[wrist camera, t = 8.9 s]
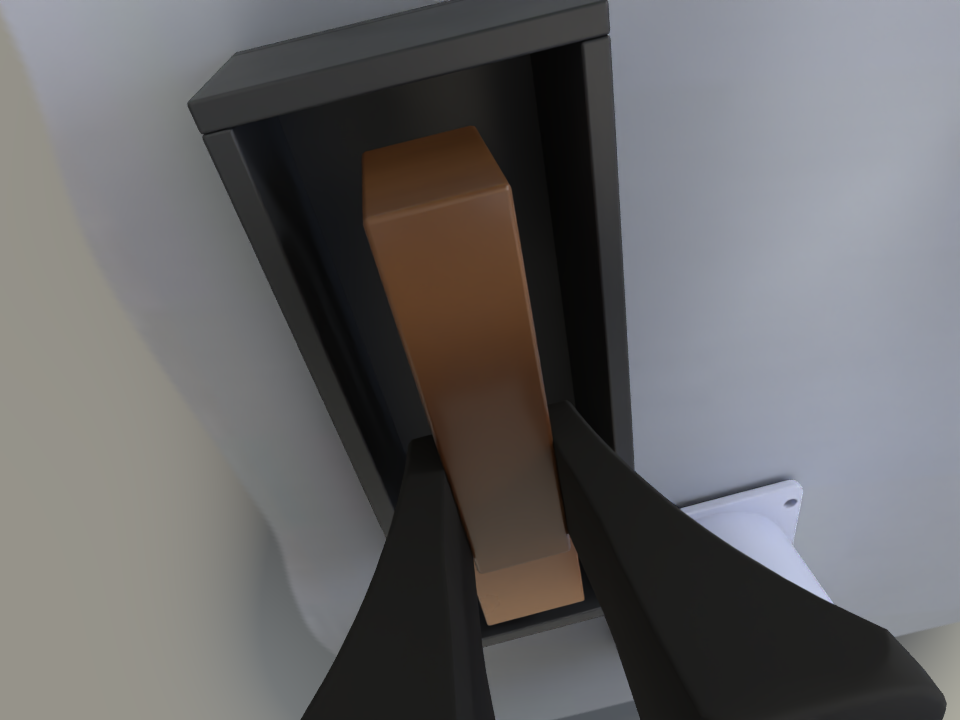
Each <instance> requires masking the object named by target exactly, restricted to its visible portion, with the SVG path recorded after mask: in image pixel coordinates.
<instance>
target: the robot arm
mask: <svg viewBox="0 0 960 720" xmlns="http://www.w3.org/2000/svg"><path fill="white" fill-rule="evenodd" d="M547 406H548V412H549V418H550V424H551V430H552V436H553V444H554V450H555V456H556V462H557V468H558V474H559V480H560V486H561V492H562V498H563V504H564V510H565V516H566V522H567V528H568V533H569V535H570V538H571V540H572V542H573V545H574V547H575V549H576V551H577V554H578V556H579V558H580V561H581V563H582V565H583V567H584V570H585V572H586V574H587V577H588V579H589V581H590V583H591V586H592V588H593V590H594V592H595V595H596V597H597V599H598V602H599V604H600V606H601V608H602V611H603V613H604V615H605V618H606V620H607V623H608V625H609V628H610V631H611V633H612V636H613V638H614V641H615V644H616V648H617V651H618V653H619V656H620V659H621V662H622V665H623V668H624V671H625V674H626V677H627V680H628V683H629V686H630V689H631V692H632V695H633V698H634V701H635V704H636V708H637V711H638V713H639V716H640V720H942V719H943V717H944V714H945V710H946V700H945V698H944V695H943V693H942V692H941V691H940V690H939V688H938V687H937V686H936V685H935V683H934V682H933V680H932V679H931V678H930V676H929V675H928V674H927V673H926V671H925V670H924V669H923V668H922V667H921V665H920V664H919V663H918V662H917V661H916V660H915V659H914V658H913V657H912V656H911V655H910V653H909V652H908V651H907V650H906V649H905V648H904V647H903V646H902V645H901V644H900V643H899V642H898V641H897V640H896V639H895V637H894V636H893V635H892V634H891V633H890V632H889V631H888V630H887V629H884V628H882V627H880V626H878V625H876V624H874V623H872V622H869V621H867V620H865V619H863V618H861V617H859V616H857V615H855V614H853V613H850V612H848V611H846V610H844V609H842V608H840V607H838V606H836V605H834V603H833V602H832V601H831V599H830V598H829V596H828V595H827V594H826V592H825V591H824V589H823V588H822V586H821V585H820V584H819V582H818V581H817V579H816V578H815V576H814V575H813V574H812V572H811V571H810V569H809V568H808V567H807V565H806V564H805V562H804V561H803V559H802V558H801V557H800V555H799V554H798V552H797V551H796V549H795V548H794V547H793V541H794V536H795V531H796V526H797V521H798V516H799V510H800V505H801V500H802V495H803V488H802V486H801V485H800V484H799V483H798V482H797V481H796V480H786V481H782V482H778V483H775V484H771V485H767V486H763V487H759V488H756V489H752V490H748V491H744V492H740V493H736V494H733V495H729V496H725V497H721V498H717V499H714V500H710V501H706V502H702V503H698V504H695V505H691V506H687V507H683V508H678V507H677V506H675V505H674V504H673V503H672V502H670V501H669V500H668V499H667V498H665V497H664V496H663V495H662V494H661V493H659V492H658V491H657V490H656V489H655V488H653V487H652V486H651V485H650V484H649V483H648V482H646V481H645V480H644V479H643V478H642V477H641V476H640V475H639V474H637V473H636V472H635V471H634V470H633V469H632V468H631V467H630V466H629V465H628V464H627V463H626V462H625V461H624V460H623V459H622V458H621V457H619V456H618V455H617V454H616V453H615V452H614V451H613V450H612V449H611V448H610V447H609V446H608V445H607V444H606V443H605V442H604V441H603V439H602V438H601V437H600V436H599V435H598V434H597V433H596V432H595V431H594V430H593V429H592V428H591V426H590V425H589V424H588V423H587V422H586V421H585V420H584V418H583V417H582V416H581V415H580V414H579V412H578V411H577V410H576V409H575V407H574V406H573V405H572V403H571V402H569V401H567V400H563V401H559V402H555V403H551V404H548V405H547ZM301 720H495V716H494V710H493V705H492V700H491V695H490V690H489V685H488V679H487V674H486V668H485V661H484V654H483V647H482V637H481V628H480V618H479V608H478V598H477V588H476V579H475V569H474V559H473V555H472V552H471V549H470V546H469V543H468V540H467V537H466V534H465V531H464V528H463V525H462V522H461V519H460V516H459V513H458V510H457V507H456V504H455V501H454V498H453V495H452V492H451V489H450V486H449V483H448V480H447V477H446V474H445V471H444V468H443V466H442V463H441V460H440V457H439V454H438V451H437V448H436V445H435V442H434V438H433V435H432V434H431V435H428V436H424V437H420V438H416V439H412V440H411V442H410V443H409V444H408V451H407V458H406V465H405V470H404V475H403V480H402V484H401V489H400V493H399V497H398V501H397V504H396V508H395V511H394V515H393V519H392V522H391V526H390V529H389V532H388V536H387V538H386V541H385V544H384V547H383V550H382V553H381V556H380V559H379V562H378V564H377V567H376V570H375V573H374V575H373V578H372V580H371V583H370V585H369V588H368V590H367V593H366V595H365V598H364V600H363V602H362V604H361V607H360V609H359V611H358V614H357V616H356V618H355V620H354V622H353V624H352V626H351V628H350V630H349V633H348V635H347V637H346V639H345V641H344V643H343V645H342V647H341V649H340V651H339V653H338V655H337V657H336V659H335V661H334V662H333V665H332V666H331V668H330V670H329V672H328V674H327V675H326V678H325V679H324V681H323V683H322V684H321V686H320V687H319V689H318V691H317V693H316V694H315V696H314V698H313V700H312V701H311V703H310V705H309V706H308V708H307V710H306V711H305V713H304V715H303V717H302V718H301Z"/></svg>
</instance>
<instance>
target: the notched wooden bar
mask: <svg viewBox="0 0 960 720" xmlns="http://www.w3.org/2000/svg"><path fill="white" fill-rule="evenodd" d="M361 166H362V213H363V227H364V230H365V233H366V236H367V239H368V242H369V245H370V248H371V251H372V254H373V257H374V260H375V263H376V266H377V269H378V272H379V275H380V279H381V282H382V285H383V288H384V291H385V294H386V297H387V300H388V303H389V306H390V309H391V312H392V315H393V318H394V321H395V324H396V327H397V330H398V333H399V336H400V339H401V342H402V345H403V348H404V351H405V354H406V357H407V360H408V363H409V366H410V369H411V372H412V375H413V378H414V381H415V384H416V387H417V390H418V393H419V396H420V399H421V402H422V405H423V408H424V411H425V414H426V417H427V420H428V423H429V426H430V429H431V432H432V435H433V438H434V442H435V445H436V448H437V451H438V454H439V457H440V460H441V463H442V466H443V468H444V471H445V474H446V477H447V480H448V483H449V486H450V489H451V492H452V495H453V498H454V501H455V504H456V507H457V510H458V513H459V516H460V519H461V522H462V525H463V528H464V531H465V534H466V537H467V540H468V543H469V546H470V549H471V552H472V555H473V559H474V569H475V579H476V588H477V597H478V599H479V602H480V605H481V608H482V611H483V614H484V617H485V620H486V623H487V624H488V625H494V624H498V623H501V622H505V621H509V620H513V619H516V618H520V617H524V616H528V615H532V614H535V613H539V612H543V611H547V610H550V609H554V608H558V607H562V606H565V605H569V604H573V603H577V602H581V601H583V600H584V598H585V597H584V591H583V584H582V578H581V572H580V565H579V559H578V554H577V551H576V549H575V547H574V545H573V542H572V540H571V538H570V535H569V533H568V528H567V522H566V516H565V510H564V504H563V498H562V492H561V486H560V480H559V474H558V468H557V462H556V456H555V450H554V444H553V436H552V430H551V424H550V418H549V412H548V406H547V400H546V394H545V388H544V382H543V376H542V369H541V363H540V357H539V351H538V345H537V339H536V333H535V327H534V321H533V315H532V309H531V303H530V297H529V291H528V285H527V279H526V273H525V267H524V261H523V255H522V249H521V243H520V237H519V231H518V225H517V219H516V213H515V207H514V201H513V195H512V189H511V186H510V185H509V183H508V181H507V180H506V178H505V176H504V174H503V173H502V171H501V169H500V168H499V166H498V164H497V163H496V161H495V159H494V158H493V156H492V154H491V152H490V151H489V149H488V147H487V146H486V144H485V142H484V141H483V139H482V137H481V136H480V134H479V132H478V130H477V129H476V127H475V126H467V127H463V128H458V129H454V130H450V131H446V132H442V133H438V134H434V135H430V136H426V137H422V138H418V139H414V140H410V141H406V142H402V143H398V144H394V145H390V146H386V147H382V148H378V149H374V150H370V151H366V152H364V153H363V154H362V157H361Z"/></svg>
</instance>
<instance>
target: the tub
mask: <svg viewBox="0 0 960 720" xmlns="http://www.w3.org/2000/svg"><path fill="white" fill-rule="evenodd" d="M609 32H610V22H609V4H608V1H607V0H450V1H446V2H441V3H437V4H433V5H429V6H425V7H421V8H417V9H413V10H409V11H404V12H400V13H396V14H392V15H388V16H384V17H380V18H376V19H372V20H368V21H363V22H359V23H355V24H351V25H347V26H343V27H339V28H335V29H331V30H327V31H322V32H318V33H314V34H310V35H306V36H302V37H298V38H294V39H290V40H286V41H281V42H277V43H273V44H269V45H265V46H261V47H257V48H253V49H249V50H245V51H240V52H236V53H235V54H234V55H233V56H232V57H231V58H230V59H229V60H228V61H227V62H226V63H225V64H224V65H223V66H222V67H221V68H220V69H219V71H218V72H217V73H216V74H215V75H214V76H213V77H212V78H211V79H210V80H209V81H208V82H207V83H206V84H205V85H204V86H203V87H202V88H201V89H200V90H199V91H198V92H197V93H196V94H195V95H194V96H193V97H192V98H191V100H190V101H189V102H188V103H187V104H188V108H189V110H190V112H191V114H192V117H193V119H194V121H195V123H196V125H197V128H198V130H199V131H200V133H201V134H204V135H203V141H204V143H205V145H206V147H207V149H208V152H209V154H210V156H211V158H212V160H213V162H214V165H215V167H216V169H217V171H218V173H219V176H220V178H221V180H222V182H223V184H224V186H225V189H226V191H227V193H228V195H229V197H230V199H231V202H232V204H233V206H234V208H235V210H236V213H237V215H238V217H239V219H240V221H241V223H242V226H243V228H244V230H245V232H246V234H247V236H248V239H249V241H250V243H251V245H252V247H253V250H254V252H255V254H256V256H257V258H258V260H259V263H260V265H261V267H262V269H263V271H264V273H265V276H266V278H267V280H268V282H269V284H270V287H271V289H272V291H273V293H274V295H275V297H276V300H277V302H278V304H279V306H280V308H281V310H282V313H283V315H284V317H285V319H286V321H287V324H288V326H289V328H290V330H291V332H292V334H293V337H294V339H295V341H296V343H297V345H298V347H299V350H300V352H301V354H302V356H303V358H304V361H305V363H306V365H307V367H308V369H309V371H310V374H311V376H312V378H313V380H314V382H315V384H316V387H317V389H318V391H319V393H320V395H321V398H322V400H323V402H324V404H325V406H326V408H327V411H328V413H329V415H330V417H331V419H332V421H333V424H334V426H335V428H336V430H337V432H338V435H339V437H340V439H341V441H342V443H343V445H344V448H345V450H346V452H347V454H348V456H349V458H350V461H351V463H352V465H353V467H354V469H355V472H356V474H357V476H358V478H359V480H360V482H361V485H362V487H363V489H364V491H365V493H366V495H367V498H368V500H369V502H370V504H371V506H372V509H373V511H374V513H375V515H376V517H377V519H378V522H379V524H380V526H381V528H382V530H383V532H384V535H385V537H386V538H387V536H388V532H389V529H390V526H391V522H392V519H393V515H394V511H395V508H396V504H397V501H398V497H399V493H400V489H401V484H402V480H403V475H404V470H405V465H406V458H407V451H408V444H409V443H410V442H411V440H412V439H416V438H420V437H424V436H428V435H431V434H432V432H431V429H430V426H429V423H428V420H427V417H426V414H425V411H424V408H423V405H422V402H421V399H420V396H419V393H418V390H417V387H416V384H415V381H414V378H413V375H412V372H411V369H410V366H409V363H408V360H407V357H406V354H405V351H404V348H403V345H402V342H401V339H400V336H399V333H398V330H397V327H396V324H395V321H394V318H393V315H392V312H391V309H390V306H389V303H388V300H387V297H386V294H385V291H384V288H383V285H382V282H381V279H380V275H379V272H378V269H377V266H376V263H375V260H374V257H373V254H372V251H371V248H370V245H369V242H368V239H367V236H366V233H365V230H364V227H363V213H362V166H361V157H362V154H363V153H364V152H366V151H370V150H374V149H378V148H382V147H386V146H390V145H394V144H398V143H402V142H406V141H410V140H414V139H418V138H422V137H426V136H430V135H434V134H438V133H442V132H446V131H450V130H454V129H458V128H463V127H467V126H475V127H476V129H477V130H478V132H479V134H480V136H481V137H482V139H483V141H484V142H485V144H486V146H487V147H488V149H489V151H490V152H491V154H492V156H493V158H494V159H495V161H496V163H497V164H498V166H499V168H500V169H501V171H502V173H503V174H504V176H505V178H506V180H507V181H508V183H509V185H510V186H511V189H512V195H513V201H514V207H515V213H516V219H517V225H518V231H519V237H520V243H521V249H522V255H523V261H524V267H525V273H526V279H527V285H528V291H529V297H530V303H531V309H532V315H533V321H534V327H535V333H536V339H537V345H538V351H539V357H540V363H541V369H542V376H543V382H544V388H545V394H546V400H547V405H548V404H551V403H555V402H559V401H563V400H567V401H569V402H571V403H572V405H573V406H574V407H575V409H576V410H577V411H578V412H579V414H580V415H581V416H582V417H583V418H584V420H585V421H586V422H587V423H588V424H589V425H590V426H591V428H592V429H593V430H594V431H595V432H596V433H597V434H598V435H599V436H600V437H601V438H602V439H603V441H604V442H605V443H606V444H607V445H608V446H609V447H610V448H611V449H612V450H613V451H614V452H615V453H616V454H617V455H618V456H619V457H621V458H622V459H623V460H624V461H625V462H626V463H627V464H628V465H629V466H630V467H631V468H632V469H633V470H634V471H635V469H634V451H633V433H632V415H631V397H630V379H629V361H628V343H627V326H626V308H625V290H624V272H623V254H622V236H621V218H620V200H619V183H618V165H617V147H616V129H615V111H614V93H613V75H612V58H611V40H610V37H609V36H608V35H607V34H609ZM578 559H579V565H580V572H581V578H582V584H583V591H584V597H585V598H584V600H583V601H581V602H577V603H573V604H569V605H565V606H562V607H558V608H554V609H550V610H547V611H543V612H539V613H535V614H532V615H528V616H524V617H520V618H516V619H513V620H509V621H505V622H501V623H498V624H494V625H488V624H487V623H486V620H485V617H484V614H483V611H482V608H481V605H480V602H479V599H478V608H479V618H480V628H481V637H482V647H487V646H490V645H494V644H498V643H502V642H506V641H509V640H513V639H517V638H521V637H524V636H528V635H532V634H536V633H540V632H543V631H547V630H551V629H555V628H558V627H562V626H566V625H570V624H573V623H577V622H581V621H585V620H589V619H592V618H596V617H600V616H604V613H603V611H602V608H601V606H600V604H599V602H598V599H597V597H596V595H595V592H594V590H593V588H592V586H591V583H590V581H589V579H588V577H587V574H586V572H585V570H584V567H583V565H582V563H581V561H580V558H579V556H578ZM477 598H478V597H477Z"/></svg>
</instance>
